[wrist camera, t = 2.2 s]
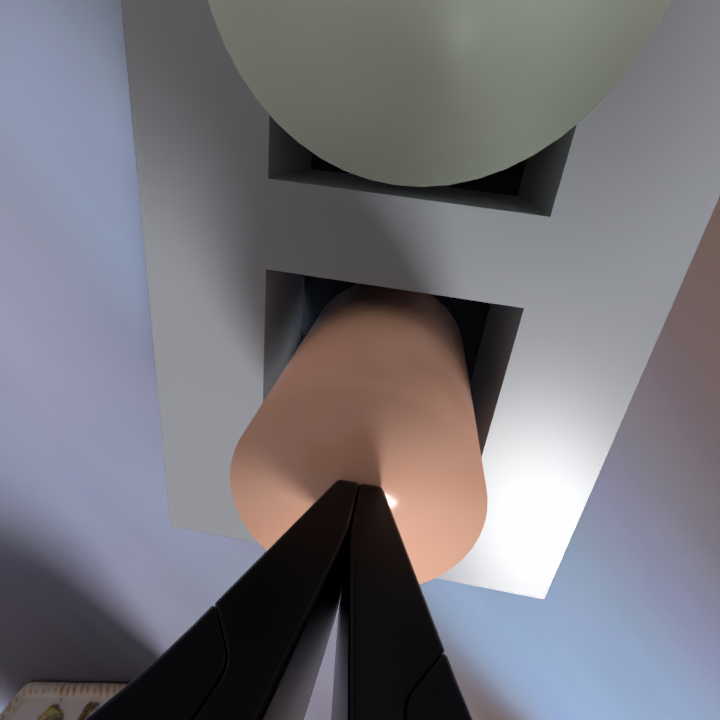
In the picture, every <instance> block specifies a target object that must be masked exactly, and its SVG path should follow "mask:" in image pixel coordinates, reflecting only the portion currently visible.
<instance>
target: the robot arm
mask: <svg viewBox="0 0 720 720" xmlns="http://www.w3.org/2000/svg"><path fill="white" fill-rule="evenodd" d="M340 596H341V598H340ZM339 601H340V605H339ZM338 605H339V615H338V627H337V642H336V657H335V672H334V687H333V702H332V717H331V720H473V719H472V717H471V715H470V712H469V710H468V707H467V705H466V703H465V700H464V698H463V695H462V693H461V691H460V688H459V686H458V683H457V681H456V678H455V676H454V673H453V670H452V668H451V665H450V663H449V660H448V657H447V656H446V655H445V654H444V648H443V645H442V642H441V640H440V637H439V634H438V632H437V629H436V627H435V624H434V621H433V619H432V616H431V614H430V611H429V608H428V606H427V603H426V600H425V598H424V595H423V593H422V590H421V587H420V585H419V582H418V580H417V577H416V574H415V572H414V569H413V566H412V564H411V561H410V559H409V556H408V553H407V551H406V548H405V546H404V543H403V540H402V538H401V535H400V532H399V530H398V527H397V525H396V522H395V519H394V517H393V514H392V511H391V509H390V506H389V504H388V501H387V498H386V496H385V493H384V491H383V489H382V488H381V487H379V486H374V485H369V484H361V485H360V487H359V484H358V483H357V482H352V481H347V480H341V479H340V480H337V481H336V482H335V483H334V484H333V485H332V486H331V487H330V488H329V489H328V490H327V491H326V492H325V493H324V494H323V495H322V496H321V497H320V498H319V499H318V500H317V501H316V502H315V503H314V504H313V505H312V506H311V507H310V508H309V509H308V510H307V511H306V512H305V513H304V514H303V515H302V516H301V517H300V518H299V519H298V520H297V521H296V522H295V523H294V524H293V525H292V526H291V527H290V528H289V529H288V530H287V531H286V532H285V533H284V534H283V535H282V536H281V537H280V538H279V539H278V540H277V541H276V542H275V543H274V544H273V545H272V546H271V547H270V548H269V549H268V550H267V551H266V552H265V553H264V554H263V555H262V556H261V557H260V558H259V559H258V560H257V561H256V562H255V563H254V564H253V565H252V566H251V567H250V568H249V569H248V570H247V571H246V573H245V574H244V575H243V576H242V577H241V578H240V579H239V580H238V581H237V582H236V583H235V584H234V585H233V586H232V587H231V588H230V589H229V590H228V591H227V592H226V593H225V594H224V595H223V596H222V597H221V598H220V599H219V600H218V601H217V602H216V603H215V606H212V607H210V608H209V610H208V611H207V612H206V613H205V614H204V615H203V616H202V617H201V618H200V619H199V620H198V621H197V622H196V623H195V624H194V625H193V626H192V627H191V628H190V629H189V630H187V631H186V632H185V633H184V634H183V635H182V636H181V637H180V638H179V639H178V640H177V641H176V642H175V643H174V644H173V645H172V646H171V647H170V648H169V649H168V650H167V651H165V652H164V653H163V654H162V655H161V656H160V657H159V658H157V659H156V660H155V661H154V662H153V663H152V664H151V665H149V666H148V667H147V668H146V669H145V670H144V671H142V672H141V673H140V674H139V675H138V676H137V677H135V678H134V679H133V680H132V681H131V682H130V683H128V684H127V685H126V686H125V687H124V688H122V689H121V690H120V691H119V692H118V693H116V694H115V695H114V696H113V697H111V698H110V699H109V700H108V701H107V702H105V703H104V704H103V705H102V706H101V707H99V708H98V709H97V710H96V711H95V712H93V713H92V714H91V715H90V716H88V717H87V718H86V719H85V720H304V717H305V713H306V710H307V707H308V704H309V701H310V697H311V694H312V691H313V688H314V685H315V681H316V678H317V675H318V672H319V668H320V665H321V662H322V659H323V656H324V652H325V649H326V646H327V643H328V640H329V636H330V633H331V630H332V627H333V623H334V620H335V617H336V613H337V609H338Z"/></svg>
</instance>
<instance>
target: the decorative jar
mask: <svg viewBox="0 0 720 720" xmlns="http://www.w3.org/2000/svg"><path fill="white" fill-rule="evenodd" d="M126 685H127V684H122V683H69V682H30V683H28V684H26V685H25V686H24V687H23V688H22V689H21V690H20V691H19V692H18V693H17V694H16V695H15V696H14V698H13V699H12V700H11V701H10V703H9V704H8V705H7V706H6V708H5V709H4V710H3V711H2V713H1V714H0V720H85V719H86V718H87V717H88V716H90V715H91V714H92V713H93V712H95V711H96V710H97V709H98V708H99V707H101V706H102V705H103V704H104V703H105V702H107V701H108V700H109V699H110V698H111V697H113V696H114V695H115V694H116V693H118V692H119V691H120V690H121V689H122V688H124V687H125V686H126Z"/></svg>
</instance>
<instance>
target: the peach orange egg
mask: <svg viewBox="0 0 720 720" xmlns="http://www.w3.org/2000/svg"><path fill="white" fill-rule="evenodd" d="M340 479H341V480H347V481H352V482H357V483H358V484H359V487H360V485H361V484H369V485H374V486H379V487H381V488H382V489H383V491H384V493H385V496H386V498H387V501H388V504H389V506H390V509H391V511H392V514H393V517H394V519H395V522H396V525H397V527H398V530H399V532H400V535H401V538H402V540H403V543H404V546H405V548H406V551H407V553H408V556H409V559H410V561H411V564H412V566H413V569H414V572H415V574H416V577H417V580H418V582H419V584H422V583H425V582H427V581H430V580H432V579H434V578H436V577H438V576H440V575H442V574H444V573H445V572H447V571H448V570H450V569H451V568H453V567H454V566H455V565H457V564H458V563H459V562H460V561H461V560H462V559H463V558H464V557H465V556H466V555H467V554H468V553H469V552H470V550H471V549H472V548H473V546H474V545H475V543H476V542H477V540H478V538H479V536H480V534H481V532H482V529H483V527H484V524H485V519H486V515H487V502H488V497H487V489H486V482H485V476H484V470H483V464H482V458H481V451H480V445H479V439H478V433H477V427H476V421H475V415H474V408H473V402H472V396H471V390H470V384H469V378H468V372H467V365H466V359H465V353H464V347H463V341H462V337H461V333H460V330H459V328H458V326H457V323H456V321H455V320H454V318H453V317H452V315H451V313H450V312H449V311H448V310H447V309H446V307H445V306H444V305H443V304H442V303H441V302H440V301H439V300H437V299H436V298H435V297H434V296H432V295H431V294H427V293H420V292H413V291H407V290H400V289H393V288H387V287H380V286H373V285H367V284H358V285H355V286H353V287H350V288H348V289H346V290H344V291H343V292H341V293H340V294H338V295H337V296H335V297H334V298H333V299H332V300H331V301H330V302H329V303H328V304H327V305H326V306H325V307H324V308H323V310H322V311H321V313H320V314H319V316H318V318H317V319H316V321H315V322H314V324H313V325H312V327H311V328H310V330H309V332H308V333H307V335H306V336H305V338H304V339H303V341H302V342H301V344H300V346H299V347H298V349H297V350H296V352H295V353H294V355H293V357H292V358H291V360H290V361H289V363H288V364H287V366H286V367H285V369H284V371H283V372H282V374H281V375H280V377H279V378H278V380H277V381H276V383H275V385H274V386H273V388H272V389H271V391H270V392H269V394H268V396H267V397H266V399H265V400H264V402H263V403H262V405H261V406H260V408H259V410H258V411H257V413H256V414H255V416H254V417H253V419H252V420H251V422H250V424H249V425H248V427H247V428H246V430H245V431H244V433H243V435H242V436H241V438H240V439H239V441H238V444H237V446H236V448H235V451H234V453H233V458H232V462H231V469H230V484H231V492H232V496H233V500H234V504H235V506H236V508H237V511H238V513H239V516H240V517H241V519H242V521H243V523H244V524H245V526H246V528H247V529H248V530H249V532H250V533H251V534H252V536H253V537H254V538H255V539H256V540H257V542H258V543H259V544H260V545H261V546H262V547H263V548H264V549H265V550H266V551H267V550H268V549H269V548H270V547H271V546H272V545H273V544H274V543H275V542H276V541H277V540H278V539H279V538H280V537H281V536H282V535H283V534H284V533H285V532H286V531H287V530H288V529H289V528H290V527H291V526H292V525H293V524H294V523H295V522H296V521H297V520H298V519H299V518H300V517H301V516H302V515H303V514H304V513H305V512H306V511H307V510H308V509H309V508H310V507H311V506H312V505H313V504H314V503H315V502H316V501H317V500H318V499H319V498H320V497H321V496H322V495H323V494H324V493H325V492H326V491H327V490H328V489H329V488H330V487H331V486H332V485H333V484H334V483H335V482H336V481H337V480H340Z"/></svg>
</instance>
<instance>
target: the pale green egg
mask: <svg viewBox="0 0 720 720" xmlns="http://www.w3.org/2000/svg"><path fill="white" fill-rule="evenodd" d="M208 2H209V6H210V9H211V12H212V15H213V18H214V20H215V23H216V25H217V28H218V30H219V33H220V35H221V38H222V40H223V43H224V45H225V47H226V49H227V51H228V53H229V55H230V57H231V58H232V60H233V62H234V64H235V66H236V68H237V70H238V72H239V74H240V75H241V77H242V78H243V80H244V81H245V83H246V84H247V86H248V87H249V89H250V90H251V92H252V93H253V95H254V96H255V98H256V99H257V100H258V102H259V103H260V104H261V105H262V106H263V107H264V109H265V110H266V111H267V112H268V113H269V114H270V116H271V117H272V118H273V119H274V120H275V122H276V123H277V124H278V125H280V126H281V127H282V128H283V129H284V130H285V131H286V132H287V133H288V134H289V135H290V136H292V137H293V138H294V139H295V140H296V141H297V142H298V143H300V144H301V145H302V146H304V147H305V148H307V149H308V150H309V151H311V152H312V153H314V154H315V155H317V156H318V157H319V158H321V159H323V160H325V161H327V162H329V163H331V164H332V165H334V166H336V167H338V168H340V169H342V170H344V171H346V172H349V173H352V174H355V175H358V176H360V177H363V178H366V179H369V180H373V181H378V182H383V183H387V184H392V185H400V186H416V187H429V186H442V185H452V184H457V183H461V182H466V181H471V180H475V179H479V178H482V177H485V176H488V175H491V174H493V173H496V172H499V171H502V170H505V169H507V168H509V167H511V166H513V165H515V164H517V163H519V162H521V161H523V160H525V159H527V158H529V157H531V156H533V155H535V154H536V153H538V152H539V151H541V150H542V149H544V148H545V147H547V146H548V145H550V144H551V143H553V142H554V141H556V140H558V139H559V138H561V137H562V136H563V135H564V134H565V133H567V132H568V131H569V130H570V129H571V128H573V127H574V126H575V125H576V124H577V123H579V122H580V121H581V120H582V119H583V118H585V117H586V116H587V115H588V114H589V113H590V112H591V111H592V110H593V109H594V108H595V107H596V106H597V105H598V104H599V103H600V102H601V101H602V100H603V99H604V98H605V97H606V96H607V95H608V94H609V93H610V91H611V90H612V89H613V88H614V87H615V86H616V85H617V83H618V82H619V81H620V79H621V78H622V77H623V76H624V74H625V73H626V72H627V71H628V69H629V68H630V67H631V66H632V64H633V63H634V62H635V60H636V59H637V58H638V56H639V55H640V53H641V52H642V50H643V49H644V47H645V45H646V44H647V42H648V41H649V39H650V38H651V36H652V34H653V33H654V31H655V30H656V28H657V27H658V25H659V23H660V22H661V20H662V18H663V16H664V14H665V12H666V10H667V8H668V6H669V4H670V2H671V0H208Z"/></svg>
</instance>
